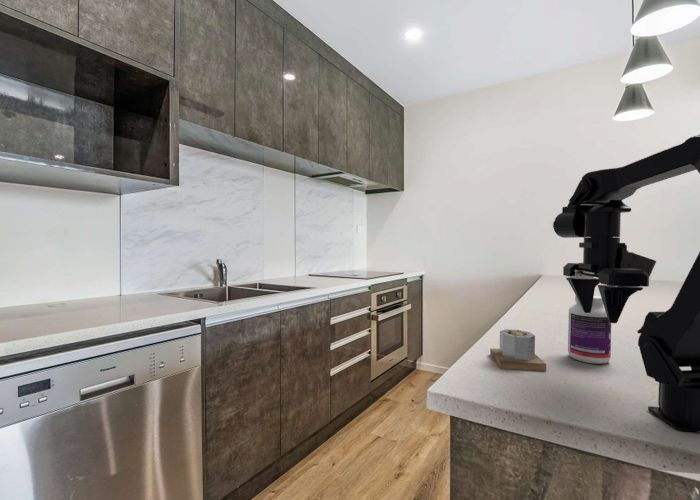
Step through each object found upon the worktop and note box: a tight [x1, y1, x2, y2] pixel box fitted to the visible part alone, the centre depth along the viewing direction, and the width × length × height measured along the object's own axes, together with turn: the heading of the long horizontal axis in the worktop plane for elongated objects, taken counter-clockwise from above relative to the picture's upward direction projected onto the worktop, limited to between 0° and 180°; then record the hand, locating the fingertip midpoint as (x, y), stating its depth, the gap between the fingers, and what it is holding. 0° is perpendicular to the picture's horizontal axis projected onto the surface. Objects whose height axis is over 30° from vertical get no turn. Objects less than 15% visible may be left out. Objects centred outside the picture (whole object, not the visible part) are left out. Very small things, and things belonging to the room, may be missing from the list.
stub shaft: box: [489, 332, 547, 372], centre depth 78 cm, size 9×9×6 cm
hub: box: [499, 329, 536, 361], centre depth 78 cm, size 6×6×5 cm
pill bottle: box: [567, 294, 612, 365], centre depth 80 cm, size 8×8×14 cm
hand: (599, 317), depth 68 cm, fingers open, 9 cm apart
